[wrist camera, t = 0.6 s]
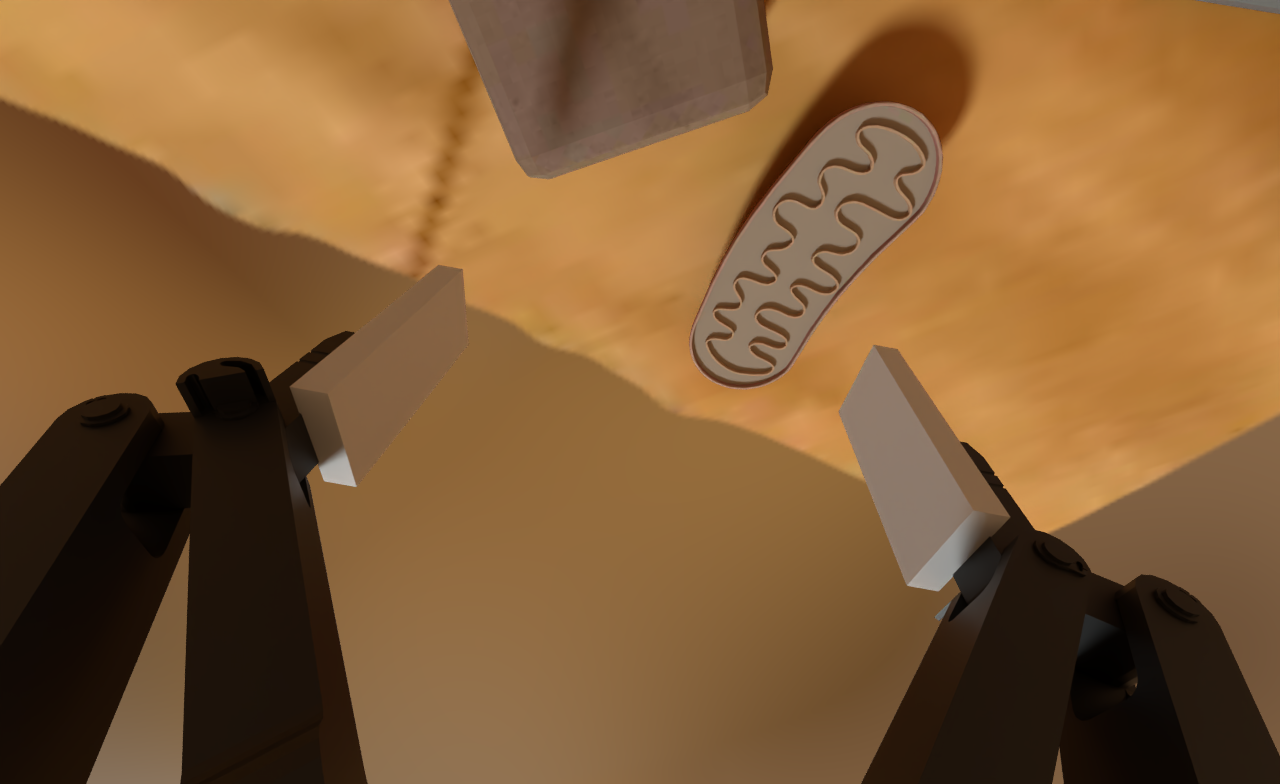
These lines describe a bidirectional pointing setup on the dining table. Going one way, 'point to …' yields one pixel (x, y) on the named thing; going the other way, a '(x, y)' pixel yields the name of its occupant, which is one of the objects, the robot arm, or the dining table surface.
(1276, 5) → the board
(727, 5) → the wooden block
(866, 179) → the anatomical model
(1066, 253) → the dining table surface
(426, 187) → the dining table surface
